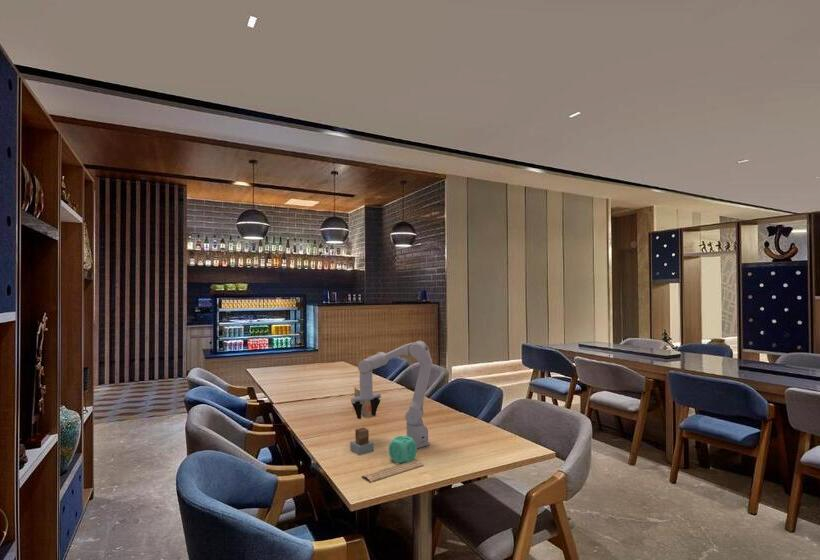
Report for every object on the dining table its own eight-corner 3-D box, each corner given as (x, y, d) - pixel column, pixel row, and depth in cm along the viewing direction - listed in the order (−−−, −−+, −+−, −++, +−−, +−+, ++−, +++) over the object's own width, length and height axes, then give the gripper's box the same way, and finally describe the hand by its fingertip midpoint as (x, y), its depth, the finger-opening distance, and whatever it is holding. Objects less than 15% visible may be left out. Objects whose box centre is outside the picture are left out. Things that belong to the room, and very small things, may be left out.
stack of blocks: (376, 416, 228) (375, 393, 228) (364, 417, 225) (364, 394, 226) (365, 407, 248) (364, 385, 248) (354, 408, 245) (354, 386, 246)
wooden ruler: (370, 485, 146) (370, 479, 146) (359, 478, 152) (359, 473, 152) (423, 467, 160) (423, 463, 160) (412, 462, 166) (412, 457, 166)
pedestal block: (373, 451, 176) (373, 443, 177) (359, 455, 172) (359, 446, 172) (364, 447, 182) (364, 438, 182) (350, 450, 178) (350, 442, 178)
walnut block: (368, 443, 176) (368, 429, 177) (360, 445, 174) (359, 431, 174) (363, 440, 180) (363, 427, 180) (355, 442, 177) (355, 429, 178)
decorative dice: (401, 454, 172) (401, 434, 172) (417, 459, 167) (417, 438, 167) (388, 460, 166) (388, 439, 166) (404, 465, 161) (403, 444, 161)
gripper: (374, 382, 198) (374, 412, 197) (347, 387, 189) (347, 418, 188) (383, 385, 192) (383, 415, 192) (355, 389, 183) (355, 421, 183)
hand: (366, 416), depth 189 cm, fingers open, 7 cm apart
